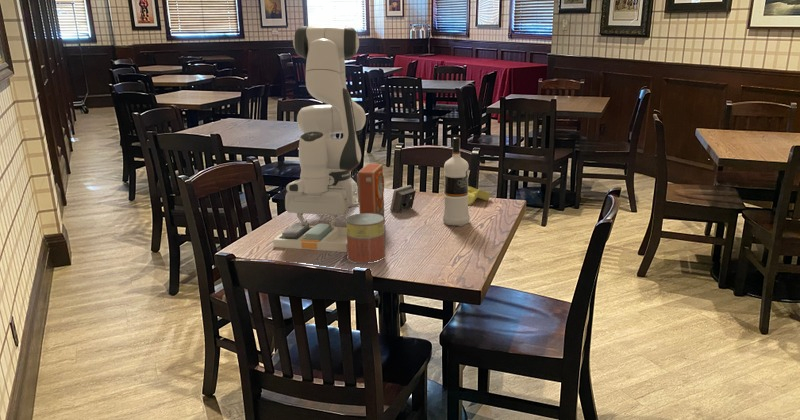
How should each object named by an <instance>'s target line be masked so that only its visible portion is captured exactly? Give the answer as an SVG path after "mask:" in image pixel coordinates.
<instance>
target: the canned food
mask: <svg viewBox="0 0 800 420" xmlns="http://www.w3.org/2000/svg"><path fill="white" fill-rule="evenodd" d="M384 217H385V216H384ZM384 217H383V216H382V215H379V214H374V213H361V214H360V213H356V214H351V215H349V216H347V217H345V225H346V227H345V228H347V247H348V251H347V252H348V253H347V260H348V261H350V262H352V263H354V262H356V263H355V264H360V263H368V262H374V261H377V260H380V259H382V258H384V257H385V258H386V250H385V249H386V248H385V243H386V241H385V221H384ZM385 258H384V259H385ZM368 264H369V263H368Z"/></svg>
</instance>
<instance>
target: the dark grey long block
mask: <svg viewBox="0 0 800 420" xmlns="http://www.w3.org/2000/svg"><path fill="white" fill-rule="evenodd" d="M309 225H310V223H309V222H307V226H301V222H295V223H294V224H292V225H290V226H289V227H290V228H289V227H288V228H287V229H285V230H286V231H285V230H284V231H282V232H283V233H282V232H281V233H282V237H283V239H296V240H297V239H299V238H300V237H301V236H302V235H304V234H305V233H306V232H307V231H309Z"/></svg>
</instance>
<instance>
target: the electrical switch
mask: <svg viewBox="0 0 800 420" xmlns="http://www.w3.org/2000/svg"><path fill="white" fill-rule="evenodd" d="M416 191H417V190H416V189H414V188H413V185H411V184H409V185H405V186H401V187H399V188H394V190H393V193H392V199H391V202H390V203H391V204H390V208H389V210H390V212H391V213H392V212H396V213H397V214H400V213H403V212H405V211H409V210H412V209H411V208H413V206H414V205H413V204H414V201H415V196H416V193H417V192H416ZM402 211H403V212H402ZM399 212H400V213H399Z"/></svg>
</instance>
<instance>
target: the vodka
mask: <svg viewBox="0 0 800 420" xmlns="http://www.w3.org/2000/svg"><path fill="white" fill-rule="evenodd" d="M469 167H470V166H469V163H468V161H467V160H466V159H464V158H462V157H461V137H457V136H456V137H453V138H452V157H450V158H449V159H447V160H446V161H445V162H444V165H443V168H444V169H443V170H444V173H443V175H444V179H445V186H444V209H443V211H444V212H443V216H442V221H443V223H444V224H445V225H447V226H452V227H463V226H465V225H468V224H469V222H470V221H471V220H470V219H471V216H470V213H469V205H468V196H469V195H468V186H469Z"/></svg>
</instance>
